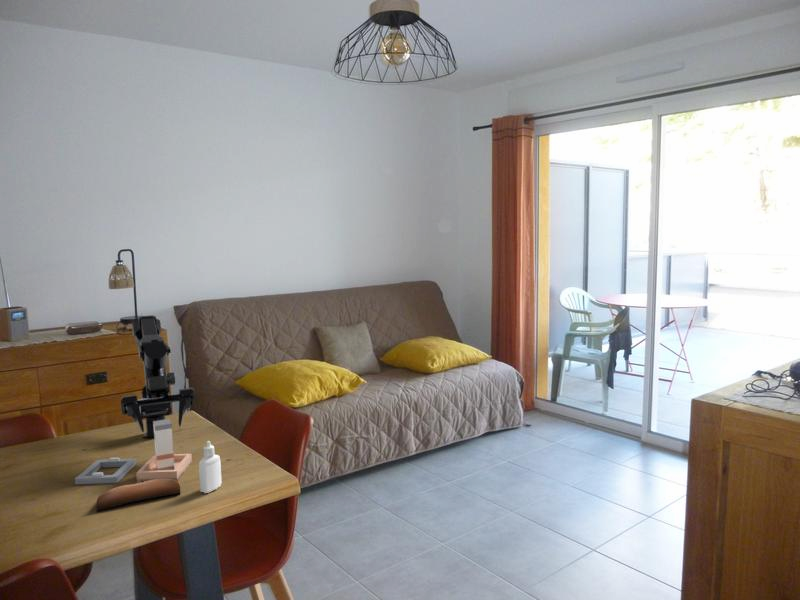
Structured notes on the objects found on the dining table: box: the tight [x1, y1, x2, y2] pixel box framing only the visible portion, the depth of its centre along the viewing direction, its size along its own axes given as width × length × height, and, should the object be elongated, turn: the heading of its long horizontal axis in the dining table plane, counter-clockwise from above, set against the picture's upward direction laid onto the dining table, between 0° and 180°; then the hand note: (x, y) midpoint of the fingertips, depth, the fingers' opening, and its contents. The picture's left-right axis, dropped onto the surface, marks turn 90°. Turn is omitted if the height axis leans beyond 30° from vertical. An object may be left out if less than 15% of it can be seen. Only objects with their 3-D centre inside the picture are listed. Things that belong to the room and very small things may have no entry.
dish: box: [135, 453, 193, 483], centre depth 153 cm, size 12×10×2 cm
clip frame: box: [74, 457, 137, 485], centre depth 152 cm, size 12×10×2 cm
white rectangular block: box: [153, 418, 175, 470], centre depth 152 cm, size 5×4×12 cm
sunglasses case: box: [95, 479, 182, 512], centre depth 138 cm, size 18×7×7 cm
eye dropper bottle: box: [198, 440, 223, 494], centre depth 141 cm, size 4×6×12 cm
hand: (161, 428), depth 156 cm, fingers open, 9 cm apart
